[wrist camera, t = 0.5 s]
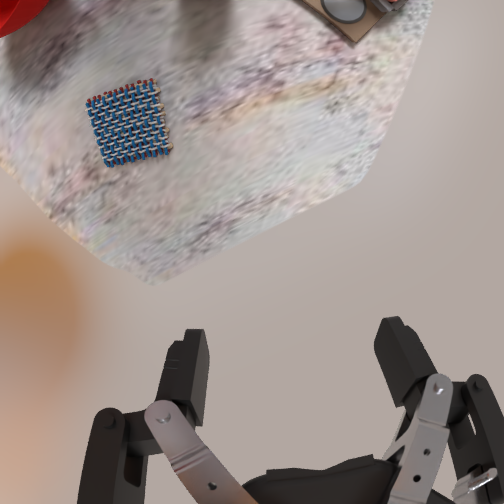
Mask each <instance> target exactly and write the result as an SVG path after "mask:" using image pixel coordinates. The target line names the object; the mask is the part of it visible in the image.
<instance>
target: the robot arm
mask: <svg viewBox="0 0 504 504" xmlns="http://www.w3.org/2000/svg"><path fill="white" fill-rule="evenodd" d="M374 351H375V354H376V357H377V359H378V362H379V364H380V367H381V369H382V372H383V374H384V377H385V379H386V382H387V385H388V387H389V390H390V393H391V395H392V398H393V401H394V404H395V406H396V408H397V407H400V406H405V409H406V410H405V411H404V413H403V416H402V418H401V421H400V424H399V426H398V429H397V431H396V433H395V436H394V438H393V441H392V443H391V445H390V447H389V448H388V450H387V451H386V452H385V454H384V456H383V457H382V459H381V460H379V459H374V458H373V454H371V455H367V456H362V457H358V458H354V459H349V460H346V461H344V462H342V463H340V464H338V465H335V466H333V467H330V468H328V469H325V470H309V469H300V468H288V469H272V470H267V471H266V474H265V475H262V476H259V477H256V478H254V479H251V480H249V481H248V482H246V483H245V484H243V485H242V486H241V485H240V484H239V483H238V482H237V481H236V480H235V478H234V477H233V476H232V475H231V474H230V473H229V472H228V471H227V469H226V468H225V467H224V466H223V465H222V464H221V462H220V461H219V460H218V459H217V458H216V456H215V455H214V454H213V453H212V451H210V449H209V448H208V447H207V446H206V445H205V444H204V443H203V441H202V440H201V439H200V438H199V436H198V435H197V434H196V432H195V426H202V425H203V416H204V407H205V398H206V388H207V380H208V371H209V350H208V345H207V341H206V336H205V332H204V330H203V329H187V330H186V332H185V335H184V340H183V341H174V343H173V344H172V345H171V346H170V348H169V349H168V352H167V356H166V361H165V363H164V369H163V371H162V375H161V379H160V383H159V387H158V391H157V396H156V399H155V401H154V402H153V403H152V404H150V405H149V406H148V407H147V409H145V410H142V411H138V412H132V413H125V414H122V413H121V412H120V411H119V410H118V409H115V408H105V409H103V410H101V411H99V412H98V413H97V414H96V416H95V418H94V421H93V425H92V429H91V433H90V437H89V442H88V446H87V450H86V455H85V460H84V464H83V470H82V475H81V481H80V486H79V493H78V500H77V504H144V498H145V486H146V474H147V464H148V455H154V454H160V453H164V454H165V455H166V457H167V458H168V460H169V462H170V463H171V466H172V469H173V470H174V472H175V473H176V475H177V476H178V478H179V479H180V481H181V482H182V483H183V485H184V486H185V487H186V489H187V490H188V491H189V493H190V494H191V495H192V497H193V498H194V499H195V500H196V502H197V503H198V504H503V503H504V417H503V414H502V412H501V409H500V407H499V405H498V403H497V400H496V398H495V396H494V394H493V391H492V389H491V387H490V385H489V383H488V381H487V380H486V378H485V377H483V376H482V375H479V374H474V375H471V376H470V377H469V378H468V380H467V381H466V382H451V380H450V379H449V378H448V377H447V376H445V375H443V374H439V373H438V372H437V370H436V369H435V367H434V365H433V363H432V361H431V359H430V357H429V356H428V353H427V352H426V350H425V349H424V346H423V344H422V342H420V339H419V337H418V335H417V333H416V332H415V331H414V330H413V329H411V328H410V327H409V326H404V324H403V322H402V320H401V319H400V317H398V316H395V317H389V318H383V319H382V321H381V324H380V326H379V329H378V332H377V335H376V338H375V341H374ZM469 414H470V416H471V418H472V421H473V424H474V427H475V430H476V435H475V434H474V431H473V428H472V426H471V423H470V420H469V417H468V415H469ZM447 442H448V446H449V449H450V453H451V457H452V460H453V464H454V468H455V472H456V477H457V483H456V485H455V488H454V490H453V491H452V497H453V498H454V500H453V501H452V500H450V499H448V498H447V497H445V496H443V495H441V494H440V493H438V492H437V491H435V490H433V489H432V486H433V483H434V481H435V478H436V475H437V472H438V470H439V467H440V464H441V461H442V458H443V454H444V451H445V448H446V444H447Z"/></svg>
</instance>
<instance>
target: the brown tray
mask: <svg viewBox="0 0 504 504" xmlns="http://www.w3.org/2000/svg"><path fill="white" fill-rule="evenodd" d="M302 1H303V2H305V3H306V4H307V5H309V6H310V7H311V8H313V9H314V10H315V11H317V12H318V13H319V14H321V15H322V16H323V17H324V18H326V19H327V20H328V21H329V22H330V23H332V24H333V25H334V26H335V27H336V28H338V29H339V30H340V31H341V32H342V33H343V34H344V35H345V36H347V37H348V38H349V39H350V40H351V41H352V42H357V41H358V40H359V39H360V38H361V37H362V36H363V35H364V34H365V33H366V32H367V31H368V30H369V29H370V28H371V27H372V26H373V25H374V24H375V23H376V22H377V21H378V20H379V19H380V18H382V17H383V16H384V15H385V14H386V13H387V12H390V11H397V10H398V9H399V8H400V7H401V6H402V5H404V4H405V3H406V2H407V1H408V0H397V1H394V2H388V1H387V0H302Z"/></svg>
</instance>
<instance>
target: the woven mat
mask: <svg viewBox="0 0 504 504" xmlns="http://www.w3.org/2000/svg"><path fill="white" fill-rule="evenodd" d="M137 83H138V84H136V85H134V83H133V84H131V86H130V87H128V84H127V85H125V86H126V88H124V89H123V87H120V88H119V89H120V90H118V91H117V89H115V90H114V92H111V91H109V92H108V94H107V92H104V95H103V96H101V95H98V96H97V97H98V98H96V96H94V97H93V99H92V100H90V99H88V100H87V101H88V102H87V103H86V106H85V107H86V108H88V109H85V111H87V110H88V113H87V114H88V115H89V116H90V118H88V119H91V121H90V123H91V124H89V125H90V126H92V127H93V128H92V130H94V132H93V134H95V135H94V137H96V136H97V138H95V140H97V142H96V143H97V144H98V145H99V147H98V148H99V149H100V151H101V153H100V154H102V156H103V157H102V159H104V160H103V162H104V163H105V164H106V165H107V168H108V167H110V166H111V167H112V168H113V167H114V165H115V164H116V163H117V165H119V164H120V163H121V165H124V163H125V162H126V160H127V162H130V161H132V162H135V159H136V157H137V159H138V160H139V159H141V155H142V159H143V160H145V157H147V155H146V153H147V154H148V157H152V152H151V151H153V157H156V155H158V153H157V150H158V151H159V153H160V155H162V154H163V153H164V152H163V150H165V155H168V152H170V148H172V147H173V144H172V143H170V144H168V141H167V138H169V137H168V135H167V132H168V131H169V128H166V127H164V128H163V126H165V124H164V123H165V120H164V119H161V118H163V116H164V115H166V114H165V111H162V112H160V110H161V108H163V107H164V105H163V103H161V104H160V103H159V102H160V101H159V100H160V98H159V96H156V93H158V92H159V91H161V90H160V88H157V87H154V86H156V83H157V82H156V80H153V78H151V79H150V81H146V80H144V81H143V83H141V81H140V80H138V81H137ZM148 88H149V89H148ZM150 95H152V98H150ZM144 97H145V99H144ZM138 98H139V99H138ZM132 101H133V103H132ZM146 103H147V104H146ZM152 104H154V105H152ZM115 105H116V107H115ZM121 105H122V106H121ZM129 110H130V111H129ZM154 111H155V113H154ZM147 113H149V115H148V114H147ZM130 118H131V119H130ZM156 119H157V121H156ZM97 121H98V122H97ZM119 121H120V122H119ZM149 121H151V122H149ZM158 127H159V129H158ZM151 129H152V130H151ZM146 130H147V132H146ZM140 132H141V133H140ZM159 133H160V134H159ZM147 136H148V137H149V138H147ZM142 137H143V139H142ZM161 140H162V142H161ZM131 141H132V142H131ZM144 144H145V146H144ZM161 144H163V145H161ZM156 145H157V146H156ZM138 146H139V147H138ZM150 146H151V147H150ZM133 147H134V148H133ZM140 154H141V155H140ZM130 157H131V159H130ZM125 159H126V160H125Z"/></svg>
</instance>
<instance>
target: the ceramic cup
mask: <svg viewBox="0 0 504 504" xmlns="http://www.w3.org/2000/svg"><path fill="white" fill-rule="evenodd" d="M48 2H49V0H0V38H1V37H4V36H6V35H8V34H10V33H12V32H14V31H16V30H18V29H19V28H21V27H23V26H24V25H26V24H27V23H28V22H30V21H31V20H32V19H33V18H34V17H36V16H37V15H38V14H39V13H40V12H41V11H42V9H43V8H44V7H45V6H46V4H47V3H48Z"/></svg>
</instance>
